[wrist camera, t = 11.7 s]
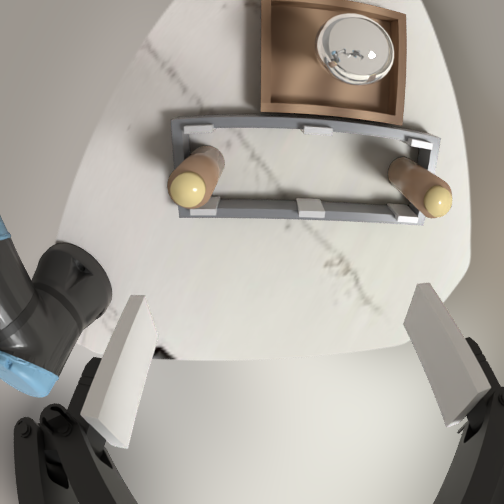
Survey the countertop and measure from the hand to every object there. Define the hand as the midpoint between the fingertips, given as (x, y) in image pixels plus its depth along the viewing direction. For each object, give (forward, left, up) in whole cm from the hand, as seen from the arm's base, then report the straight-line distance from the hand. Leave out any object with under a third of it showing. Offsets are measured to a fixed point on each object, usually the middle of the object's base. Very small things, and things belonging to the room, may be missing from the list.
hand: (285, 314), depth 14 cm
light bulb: (+7, +14, -24) cm, 29 cm away
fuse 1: (-8, +1, -25) cm, 26 cm away
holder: (+5, +1, -25) cm, 25 cm away
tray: (+7, +14, -25) cm, 29 cm away
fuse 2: (+17, +1, -25) cm, 30 cm away
